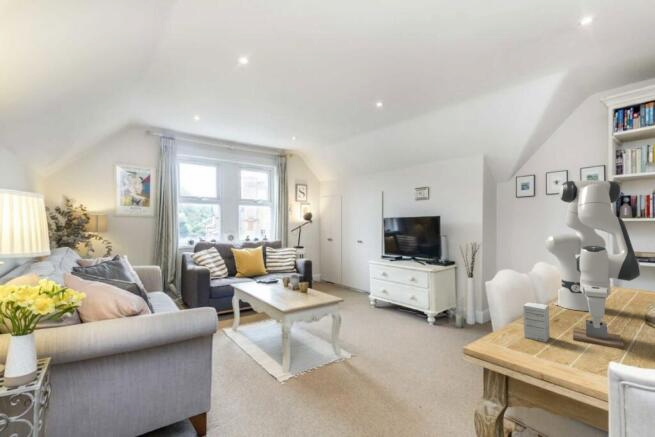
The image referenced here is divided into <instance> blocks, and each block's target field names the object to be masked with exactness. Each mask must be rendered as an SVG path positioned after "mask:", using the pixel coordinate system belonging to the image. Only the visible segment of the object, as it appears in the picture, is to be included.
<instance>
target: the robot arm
mask: <svg viewBox="0 0 655 437" xmlns="http://www.w3.org/2000/svg"><path fill="white" fill-rule="evenodd" d="M621 194H622V188H621V185H620V184H619V183H618V182H616V181H612V180H607V181H606V180H597V179H595V180H593V179H590V180H576V181H573V180H569V181H564V182H563V183H562V184H561V186H560V188H559V190H558V195H559V198H560V200H561V201H562V202H564V203H568V205H567V209H566V215H565V218H564V220H565V225H566V226H567V227H568V228H570V229H572V230H574V231H575V233H557V234H551V235H549V236H548V237H547V238H546V240H545V243H544V244H545V248H546V249H547V251H548V252H549V253H551V254H552V255H554V256H555V258H557V260H558V261H559V263H560V267H561V274H562V279H561V282H560V283H561V288H559V289H558V291H557V294H558V295H557V296H558V298H557V299H558V300H557V301H554V303H553V304H554V306H557V305H558V306H559V307H562V308H565V309H568V310H575V311H580V312H581V311H583V312H585V311H586V312H589V316H590V317H591V318H592V317H593V318H592V321H593V325H594V327H595V328H600V322H601V319H604V317H605V313H606V312H605V311H606V300H607V299H608V298H609V296H610V295H611V289H612V288H611V280H610V279H614V280H615V279H617V280H620V281H621V280H622V281H628V282H630V281H633V280H635V279H637V278H638V277H640V276H641V275H640V274H641V272H642V270H641V269H642V268H641V265H640V262H639V259H637V257H636V253H635V251H634V248H633V245H632V242H631V238H630V235H629V232H628V229H627V227H626V224H625V222H624V221H623V219H622V218H621V217H618V216H616V215H615V213H614V212H613V210H612V204H614V203H616V202H617V201H618V200H619V199H620V196H621ZM596 230H598V231H602V232H604V233H607V234H610V235H611V236H613V237H614V239H615V241H616V244H617V248H618V250H619V253H617V254H615V253H610V254H609V253H608V250H607V248H606V246H607V243H606V240H605V239H604V237H602V236H601V235H600V234H599V233H597V232H596ZM576 255H578V257H576Z"/></svg>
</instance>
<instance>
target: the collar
mask: <svg viewBox="0 0 655 437" xmlns="http://www.w3.org/2000/svg"><path fill="white" fill-rule="evenodd" d="M585 330H586V337H592V338H597V339H603V340H608V336H607V333H608V325H607V322H603V321H600V328H595V327H594V325H593V320H590V319H585Z"/></svg>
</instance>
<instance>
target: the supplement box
mask: <svg viewBox="0 0 655 437" xmlns="http://www.w3.org/2000/svg"><path fill="white" fill-rule="evenodd" d="M522 308H523V332H524V333H523V336H524V338H526V339H531V340H536V341H540V342H544V343H547V342H548V340H549V338H550V335H551V334H550V311H549V310H550V309H549V305H548V304H544V303H535V302H529V301H527V302H526V303H525V304H524V305H523V307H522Z"/></svg>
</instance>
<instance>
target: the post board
mask: <svg viewBox="0 0 655 437" xmlns="http://www.w3.org/2000/svg"><path fill="white" fill-rule="evenodd" d="M591 318H593V317H591ZM572 331H573V332H572V340H573V341H576V342H577V341H578V342H583V343H588V344H594V345H600V346H604V347H610V348H614V349H616V348H617V349H621V350H625V345H624V342H623V340H622V338H621V335H620V334H616V333H609V332H607V336H608V340H603V339H597V338H592V337H586V328H585V329H584V328H578V327H573V328H572Z"/></svg>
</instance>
